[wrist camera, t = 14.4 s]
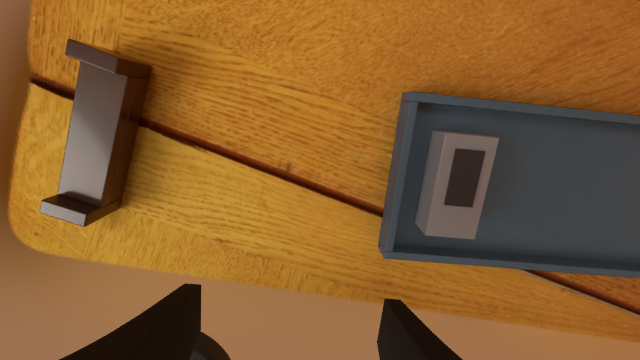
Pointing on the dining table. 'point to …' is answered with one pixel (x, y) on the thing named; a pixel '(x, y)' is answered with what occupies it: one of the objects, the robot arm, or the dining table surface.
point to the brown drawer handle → (99, 134)
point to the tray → (525, 187)
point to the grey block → (455, 183)
